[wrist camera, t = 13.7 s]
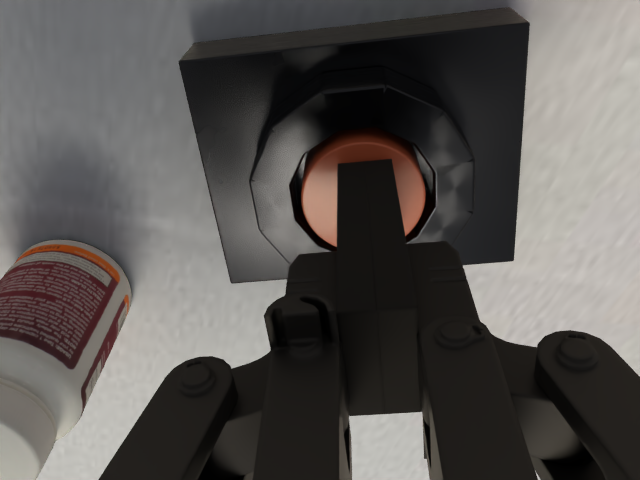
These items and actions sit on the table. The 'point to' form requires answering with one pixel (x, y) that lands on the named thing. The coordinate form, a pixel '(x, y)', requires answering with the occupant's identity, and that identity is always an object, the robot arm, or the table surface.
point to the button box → (362, 127)
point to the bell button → (357, 148)
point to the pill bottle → (53, 345)
